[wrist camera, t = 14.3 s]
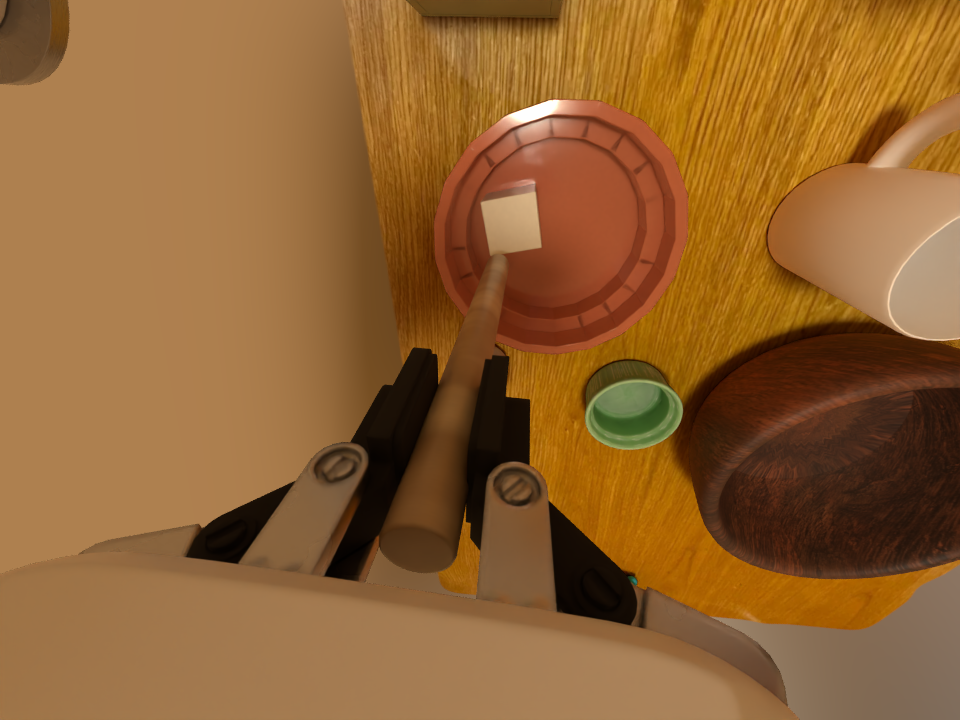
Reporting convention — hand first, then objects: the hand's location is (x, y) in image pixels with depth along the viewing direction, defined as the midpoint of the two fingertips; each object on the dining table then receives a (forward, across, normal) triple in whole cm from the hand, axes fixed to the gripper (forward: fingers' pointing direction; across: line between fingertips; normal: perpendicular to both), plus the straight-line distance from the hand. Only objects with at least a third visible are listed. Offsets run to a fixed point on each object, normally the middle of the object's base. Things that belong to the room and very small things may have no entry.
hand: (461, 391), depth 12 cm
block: (+23, -1, -1) cm, 23 cm away
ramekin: (+24, -14, +16) cm, 32 cm away
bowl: (+23, -4, 0) cm, 24 cm away
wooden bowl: (+23, -32, +17) cm, 43 cm away
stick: (+17, 0, +1) cm, 17 cm away
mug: (+23, -25, -4) cm, 34 cm away
